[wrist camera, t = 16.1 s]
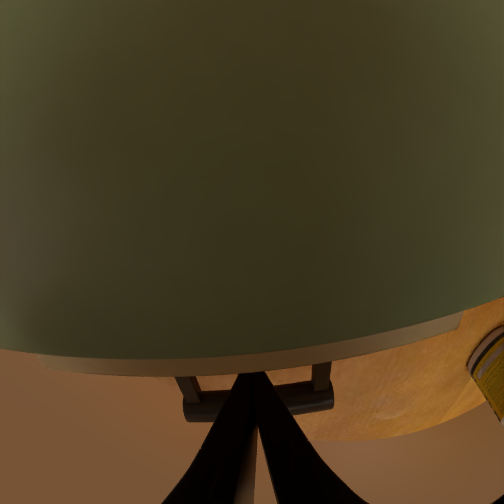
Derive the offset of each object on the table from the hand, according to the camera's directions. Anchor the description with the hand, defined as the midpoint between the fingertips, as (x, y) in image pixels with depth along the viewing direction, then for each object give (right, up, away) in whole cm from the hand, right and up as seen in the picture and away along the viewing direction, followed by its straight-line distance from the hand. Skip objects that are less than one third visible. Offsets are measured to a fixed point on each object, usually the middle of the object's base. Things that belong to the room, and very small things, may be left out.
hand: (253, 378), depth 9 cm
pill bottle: (+24, -5, +11) cm, 26 cm away
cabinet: (-2, +15, 0) cm, 15 cm away
